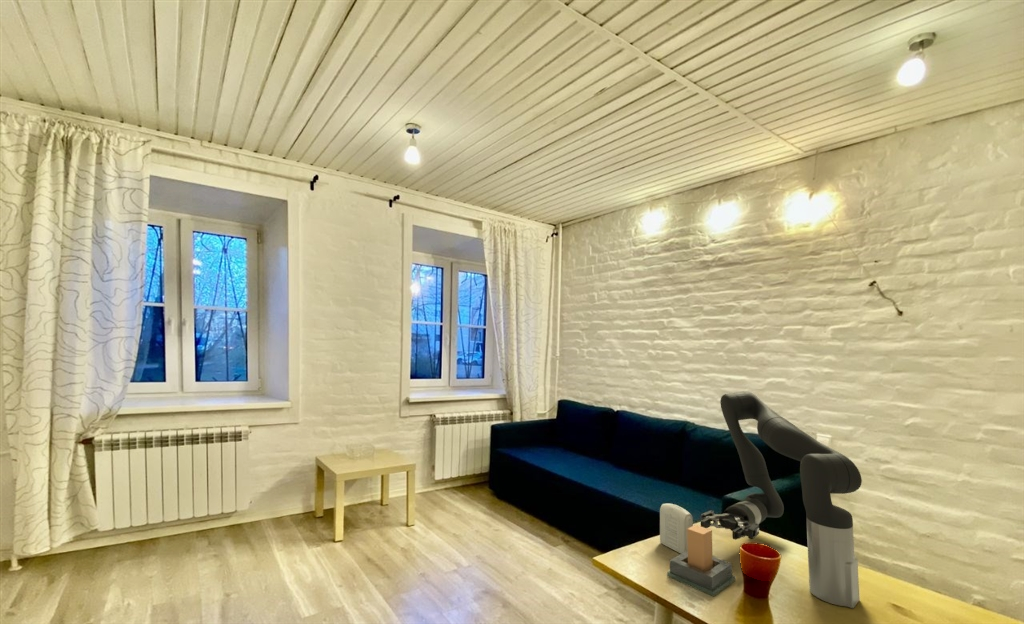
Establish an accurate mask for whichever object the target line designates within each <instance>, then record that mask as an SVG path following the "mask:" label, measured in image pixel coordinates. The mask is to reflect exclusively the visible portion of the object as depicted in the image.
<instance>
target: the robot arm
mask: <svg viewBox="0 0 1024 624" xmlns="http://www.w3.org/2000/svg"><path fill="white" fill-rule="evenodd" d="M719 402H720V409H721V412H722V415H723V418H724V420H725V423H726V426H727V428H728V431H729V433H730V435H731V438H732V441H733V443H734V445H735V448H736V449H737V453H738V455H739V456H738V457H739V459H740V463H741V466H742V472H743V474H744V479H745V482H746V483H747V484H748V485H749V486H752V487H755V488H756V487H757V488H759V489H760V490H761V491H762V493H759V492H758V493H757V492H755V493H749V494H747V495H746V496H745V498H744V500H743V501H739V502H737V503H734V504H732V505H729V506H728V507H727V508H726V509H725V510H724V511H723V513H720V514H717V513H716V514H715V511H714V510H708V511H706V512H703V513H700V526H701V527H704V528H707V529H709V528H710V527H713V528H716V529H725V530H730V531H731V532H732V533H731V534H732V540H735V541H736V540H739V539H741V538H746V537H748V539H750V540H754V539H755V538H756V537H758V535H760V524H761V523H763V522H764V521H765V520H766V518H776V519H777V518H782V516H783V514H784V510H785V507H784V502H783V501H782V499H781V497H780V494H779V493H778V491H777V489H776V488H775V486H774V485H773V483H772V480H771V478H770V476H769V472H768V469H767V468H768V467H767V464H766V461H765V458H764V456H763V454H762V452H761V451H760V450H759V448H758V447H757V446H756V445H755V444H754V443H753V442H752V441H751V440H750V439H749V438H748V437H747V436H746V434H745V432H743V429H742V427H741V424H740V422H739V421H744V420H755V421H757V427H756V429H757V430H756V431H757V434H758V436H759V438H760V439H761V440H762V441H763V442H764V443H765V444H766V445H767V446H768V447H770V448H771V449H772V450H773V451H775V452H777V453H779V454H780V455H783V456H785V457H788V458H789V459H793V460H795V461H798V462H800V463H799V465H800V466H799V473H800V474H799V476H800V483H801V484H800V485H801V491H802V492H801V493H802V494H801V495H802V502H803V506H804V509H805V513H806V514H805V515H806V539H807V541H806V542H807V560H808V561H807V562H808V585H809V586H808V587H809V592H810V593H811V594H812V595H813V596H815V598H818V599H819V600H821V601H824V602H825V603H829V604H832V605H835V606H841V607H846V608H850V609H854V608H855V607H856V605H857V604H858V603H859V601H860V600H861V599H860V598H861V597H860V584H859V582H860V581H859V564H858V562H859V561H858V557H856V555H855V541H854V540H855V539H854V538H855V537H854V522H853V521H854V520H853V516H852V514H851V512H850V511H849V510H847V509H844V508H842V507H840V506H837V505H835V504H833V502H832V497H831V495H833V494H834V495H835V494H837V495H838V494H839V495H840V494H841V495H842V494H845V495H846V494H852V493H854V492H856V491H858V490H859V489H860V488H861V486H862V482H863V479H862V475H861V472H860V470H859V468H858V467H857V466H856V464H855V463H854V462H853V461H852V460H851V459H850V458H849V457H847V456H846V455H844V454H842V453H841V452H838V451H837V450H835V449H833V448H831V447H830V446H827V445H825V444H823V443H821V442H820V441H819V440H817V439H816V438H813V436H810V435H809V434H807V433H806V432H805V431H803V430H802V429H800V428H798V426H796V425H795V424H794V423H792V422H790V421H789V420H787V419H786V418H784V417H783V416H781V415H780V414H778V413H777V412H775V411H774V410H773V409H772V408H770V407H769V406H768V405H767V404H765V403H764V402H763V400H761V399H760V398H759V397H758V396H756V395H755V394H754V393H752V392H750V391H737V392H729V393H724V394H723V395H722V396H721V397H720V401H719Z"/></svg>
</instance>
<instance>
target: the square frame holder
mask: <svg viewBox="0 0 1024 624" xmlns="http://www.w3.org/2000/svg"><path fill="white" fill-rule="evenodd" d="M666 575H667V577H668V576H669V577H668V578H670V577H671V579H673V580H674V581H677V582H680V583H682V584H683V585H687V586H689V587H691V588H693V589H696V590H698V591H700V592H702V593H705V594H707V595H709V596H712V597H715V596H716V595H717V594H719V593H720V592H722V591H723V590H724V589H725V588H727V587H728V586H730V585H731V584H732V583H733V582H735V581H736V575H734V574H733V563H731V562H728V561H726V560H723V559H721V558H718V557H715V556H713V568H712V569H711V570H709V571H705V570H703V569H700V568H698V567H695V566H693V565H690V564H688V550H687V551H686V552H684V553H682V554H681V553H679V554H678V555H676V556H675V557H673V558H671V559H670V560H669V571H667V573H666Z"/></svg>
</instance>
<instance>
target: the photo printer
mask: <svg viewBox="0 0 1024 624" xmlns="http://www.w3.org/2000/svg"><path fill="white" fill-rule="evenodd" d="M693 520H694V517H693V515H692V514H691V513H690V512H689V511H688V510H686V509H685V508H684V507H681V506H679V505H677V504H675V503H674V504H673V503H669V502H668V503H662V504H661V506H660V508H659V542H660V543H661V544H662V545H664V546H665V547H667V548H670V549H671V550H674V551H675V552H676V553H679V554H682V553H684V552H686V551H687V550H688V548H687V529H688V528H690V527H692V526H694V521H693Z"/></svg>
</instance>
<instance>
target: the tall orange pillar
mask: <svg viewBox="0 0 1024 624" xmlns="http://www.w3.org/2000/svg"><path fill="white" fill-rule="evenodd" d="M687 548H688V564H690V565H693V566H695V567H698V568H700V569H703V570H705V571H709V570H711V569H712V568H713V557H714V556H713V529H709V528H704V527H701V525H698V524H695V525H694V524H693V526H692V527H690V528H688V529H687Z"/></svg>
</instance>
